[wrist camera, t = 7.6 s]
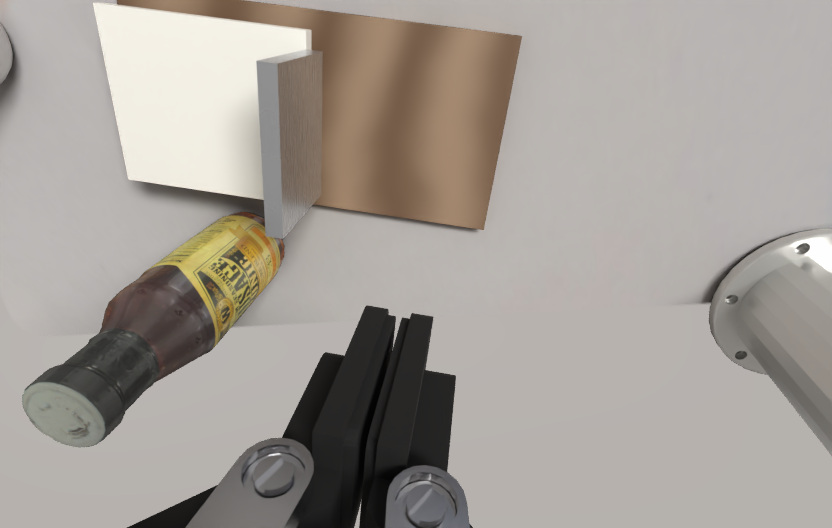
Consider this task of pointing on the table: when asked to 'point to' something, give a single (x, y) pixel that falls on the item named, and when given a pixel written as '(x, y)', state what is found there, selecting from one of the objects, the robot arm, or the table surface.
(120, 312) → the sauce bottle
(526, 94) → the table surface
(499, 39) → the clip board
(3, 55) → the silver water bottle
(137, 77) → the white bracket
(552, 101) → the table surface
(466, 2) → the table surface
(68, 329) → the table surface
